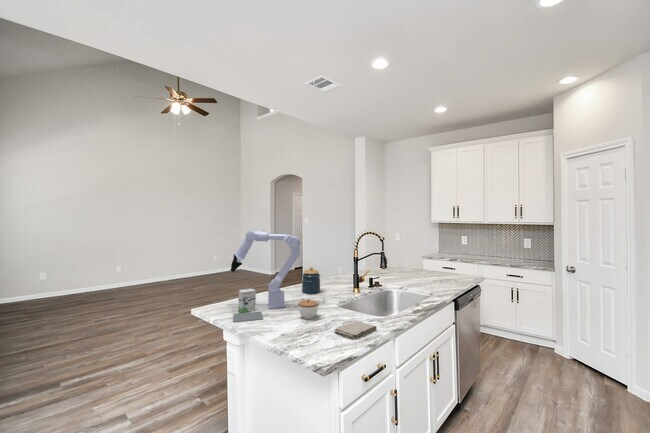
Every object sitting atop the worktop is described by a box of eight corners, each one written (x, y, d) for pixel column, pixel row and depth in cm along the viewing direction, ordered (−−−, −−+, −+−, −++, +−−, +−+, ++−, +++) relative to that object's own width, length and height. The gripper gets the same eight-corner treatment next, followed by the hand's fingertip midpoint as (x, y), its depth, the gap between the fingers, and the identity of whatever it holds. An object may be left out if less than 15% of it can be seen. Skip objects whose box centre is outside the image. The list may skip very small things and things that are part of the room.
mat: (261, 312, 174) (261, 311, 174) (263, 319, 162) (263, 318, 162) (233, 314, 170) (233, 313, 170) (233, 322, 158) (233, 321, 158)
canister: (320, 294, 213) (320, 268, 213) (301, 294, 213) (301, 268, 213) (320, 289, 226) (320, 265, 226) (302, 289, 226) (302, 265, 226)
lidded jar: (309, 312, 174) (309, 295, 174) (322, 317, 167) (322, 299, 166) (294, 316, 167) (294, 299, 167) (307, 321, 159) (307, 303, 159)
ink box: (241, 313, 173) (241, 292, 173) (238, 311, 177) (238, 290, 177) (255, 310, 178) (255, 289, 178) (252, 308, 182) (252, 288, 182)
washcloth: (333, 334, 144) (333, 327, 144) (357, 324, 157) (357, 318, 157) (353, 341, 136) (353, 334, 136) (376, 330, 149) (377, 324, 149)
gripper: (237, 243, 191) (226, 262, 191) (237, 249, 177) (225, 270, 177) (248, 248, 193) (237, 267, 193) (248, 254, 179) (236, 275, 179)
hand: (232, 269), depth 185 cm, fingers open, 7 cm apart
